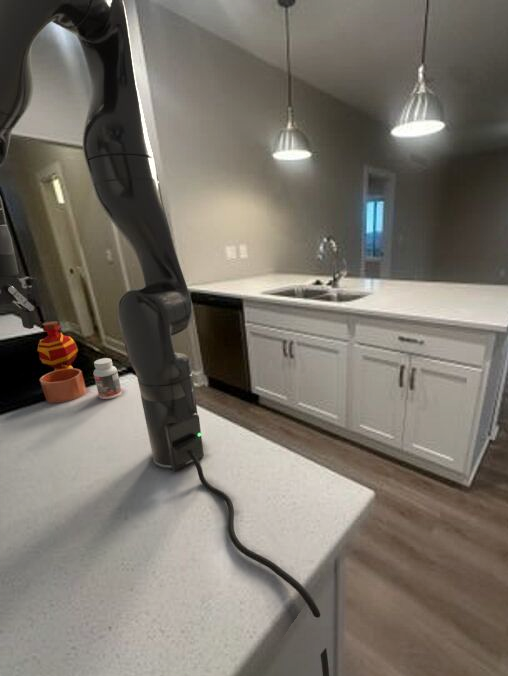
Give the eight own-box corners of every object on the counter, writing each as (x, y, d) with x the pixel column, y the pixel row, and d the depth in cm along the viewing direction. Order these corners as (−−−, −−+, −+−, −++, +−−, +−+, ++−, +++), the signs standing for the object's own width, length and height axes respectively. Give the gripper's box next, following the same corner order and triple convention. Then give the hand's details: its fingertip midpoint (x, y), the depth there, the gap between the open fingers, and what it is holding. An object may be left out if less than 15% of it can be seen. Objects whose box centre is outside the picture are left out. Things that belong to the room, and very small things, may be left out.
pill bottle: (95, 400, 89) (86, 365, 85) (104, 390, 93) (96, 357, 90) (117, 399, 89) (109, 364, 85) (125, 389, 94) (117, 356, 90)
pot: (91, 393, 92) (86, 375, 90) (50, 406, 86) (44, 386, 83) (80, 383, 98) (75, 365, 96) (41, 394, 91) (35, 375, 89)
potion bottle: (89, 367, 108) (77, 321, 102) (53, 379, 100) (38, 330, 94) (72, 361, 113) (60, 316, 107) (36, 371, 105) (21, 324, 99)
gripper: (-45, 255, 55) (-19, 348, 61) (41, 249, 68) (55, 327, 74) (-77, 248, 57) (-49, 340, 63) (13, 244, 70) (28, 321, 76)
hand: (7, 333), depth 69 cm, fingers open, 8 cm apart
